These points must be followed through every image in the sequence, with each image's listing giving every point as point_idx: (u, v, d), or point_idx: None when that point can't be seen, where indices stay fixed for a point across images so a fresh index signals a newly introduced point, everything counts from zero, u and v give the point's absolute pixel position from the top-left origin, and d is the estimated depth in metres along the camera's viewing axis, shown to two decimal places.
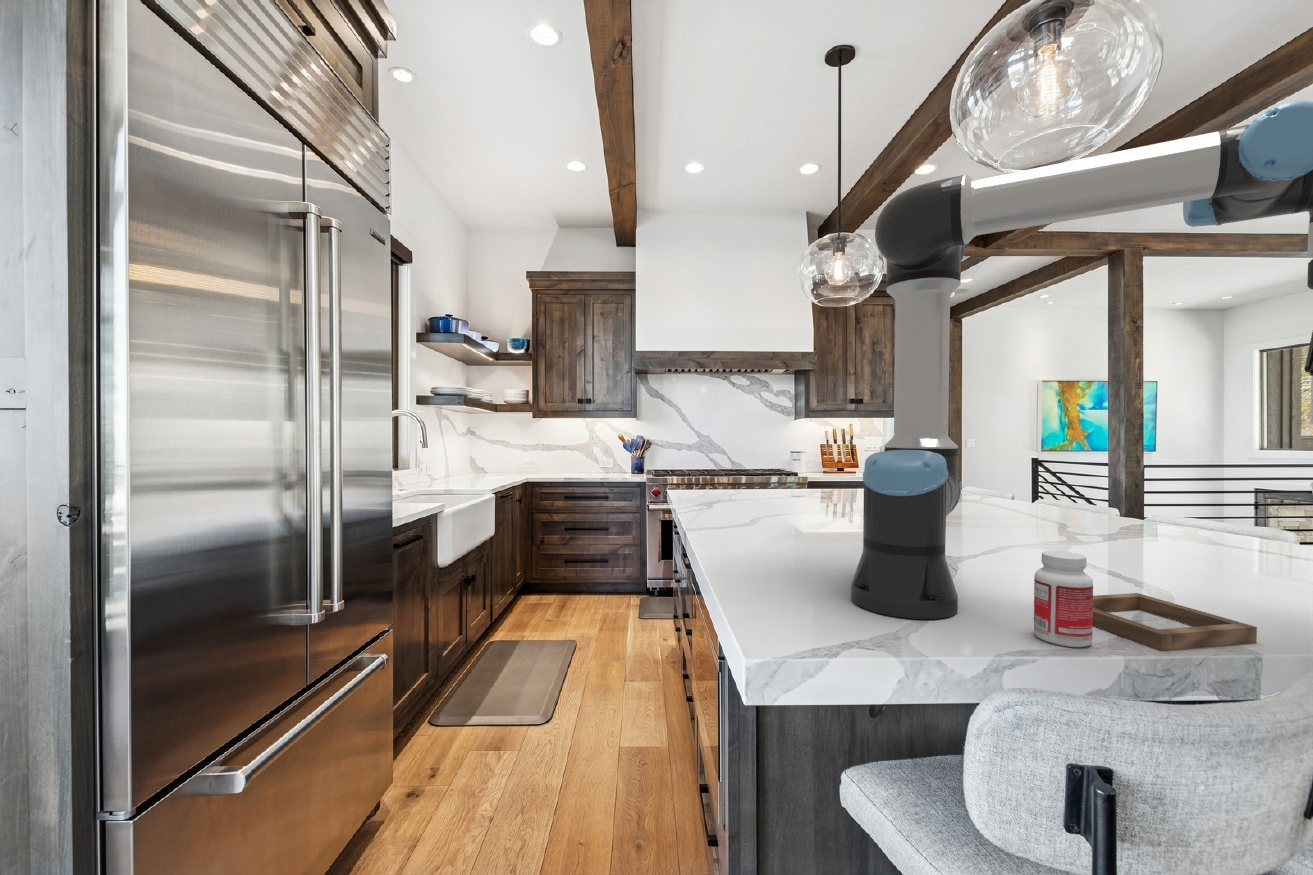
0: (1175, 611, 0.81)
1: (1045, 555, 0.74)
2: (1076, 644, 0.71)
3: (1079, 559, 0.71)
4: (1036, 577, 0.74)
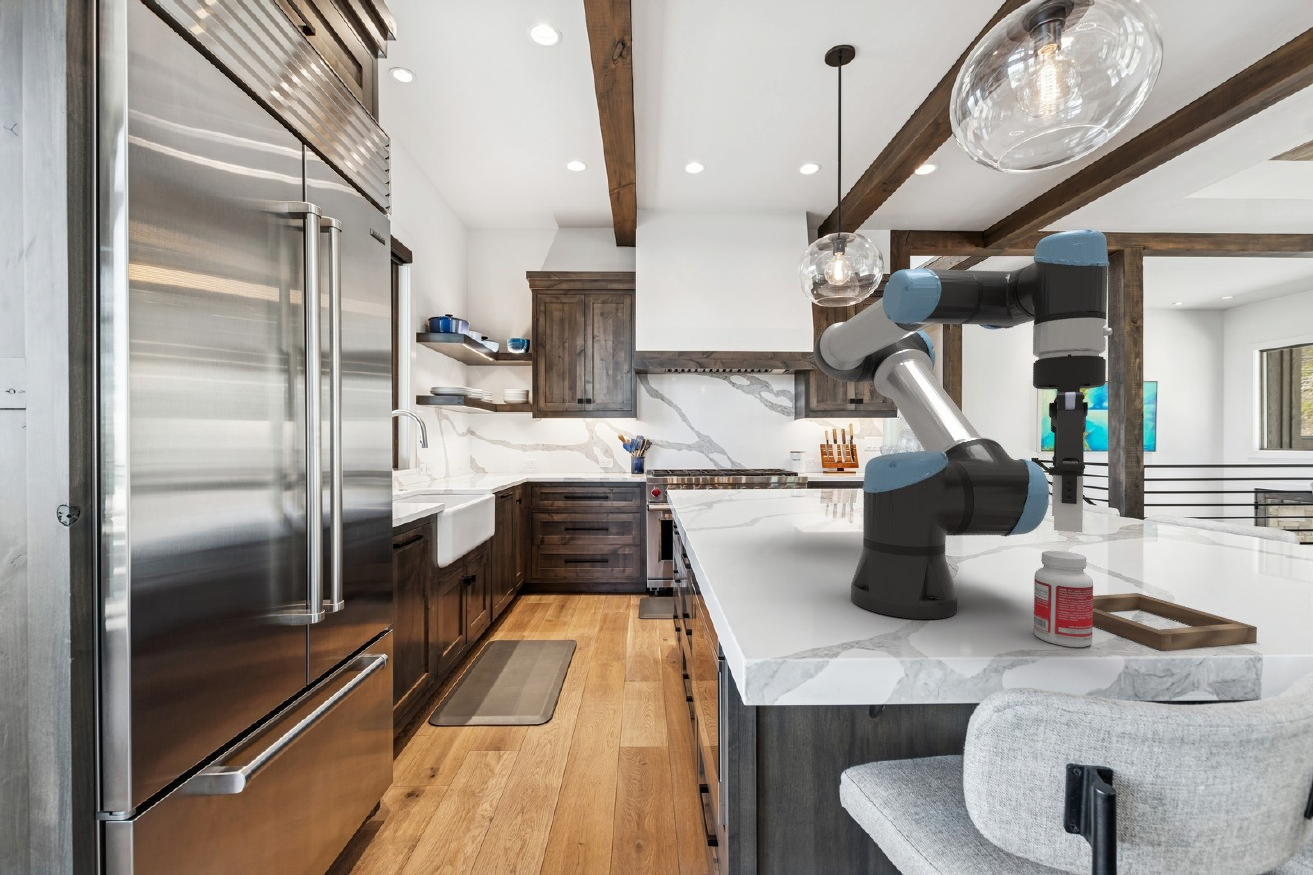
0: (1175, 611, 0.81)
1: (1045, 555, 0.74)
2: (1076, 644, 0.71)
3: (1079, 559, 0.71)
4: (1036, 577, 0.74)
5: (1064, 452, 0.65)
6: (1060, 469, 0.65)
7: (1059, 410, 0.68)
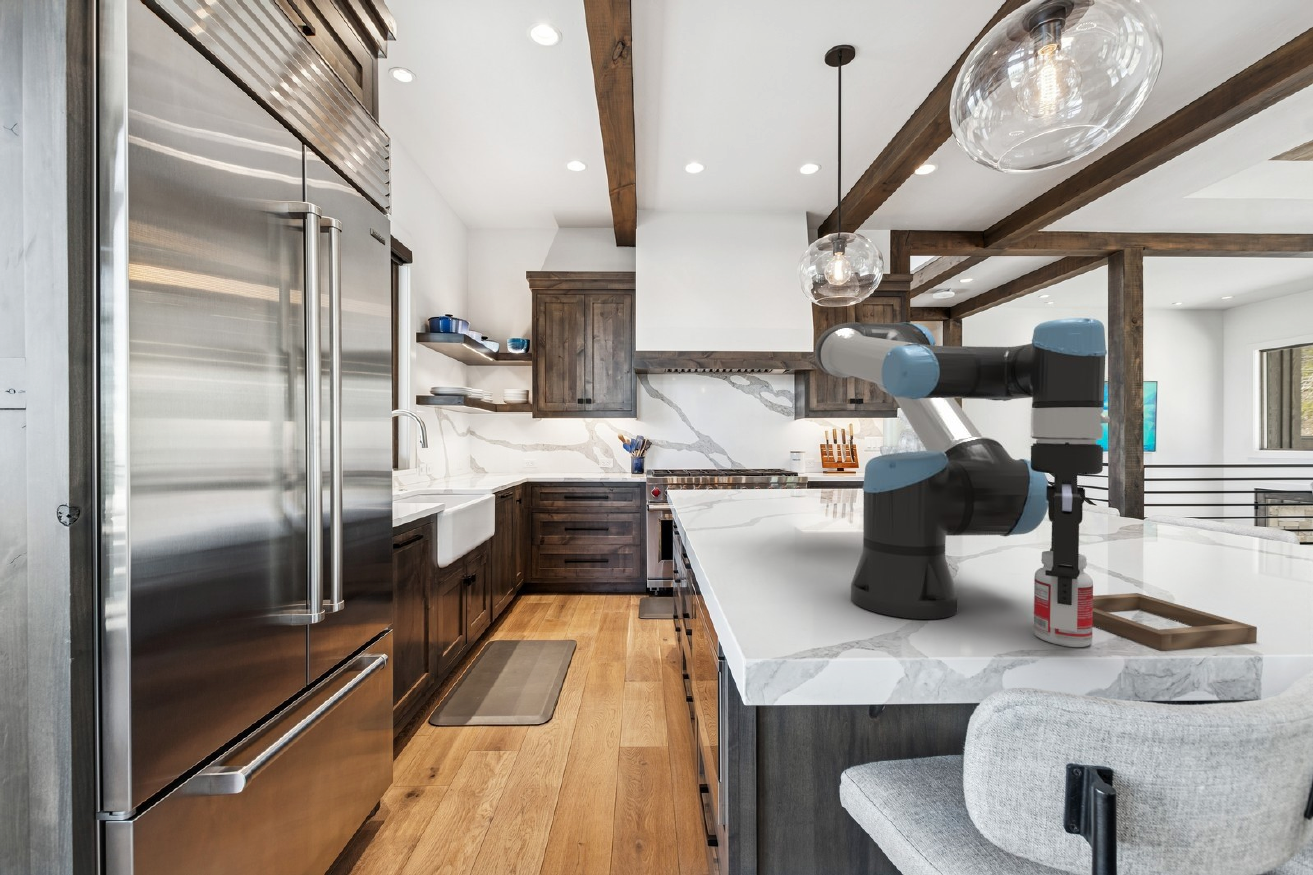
0: (1175, 611, 0.81)
1: (1045, 555, 0.74)
2: (1076, 644, 0.71)
3: (1079, 559, 0.71)
4: (1036, 577, 0.74)
5: (1060, 558, 0.68)
6: (1056, 574, 0.69)
7: (1056, 512, 0.69)
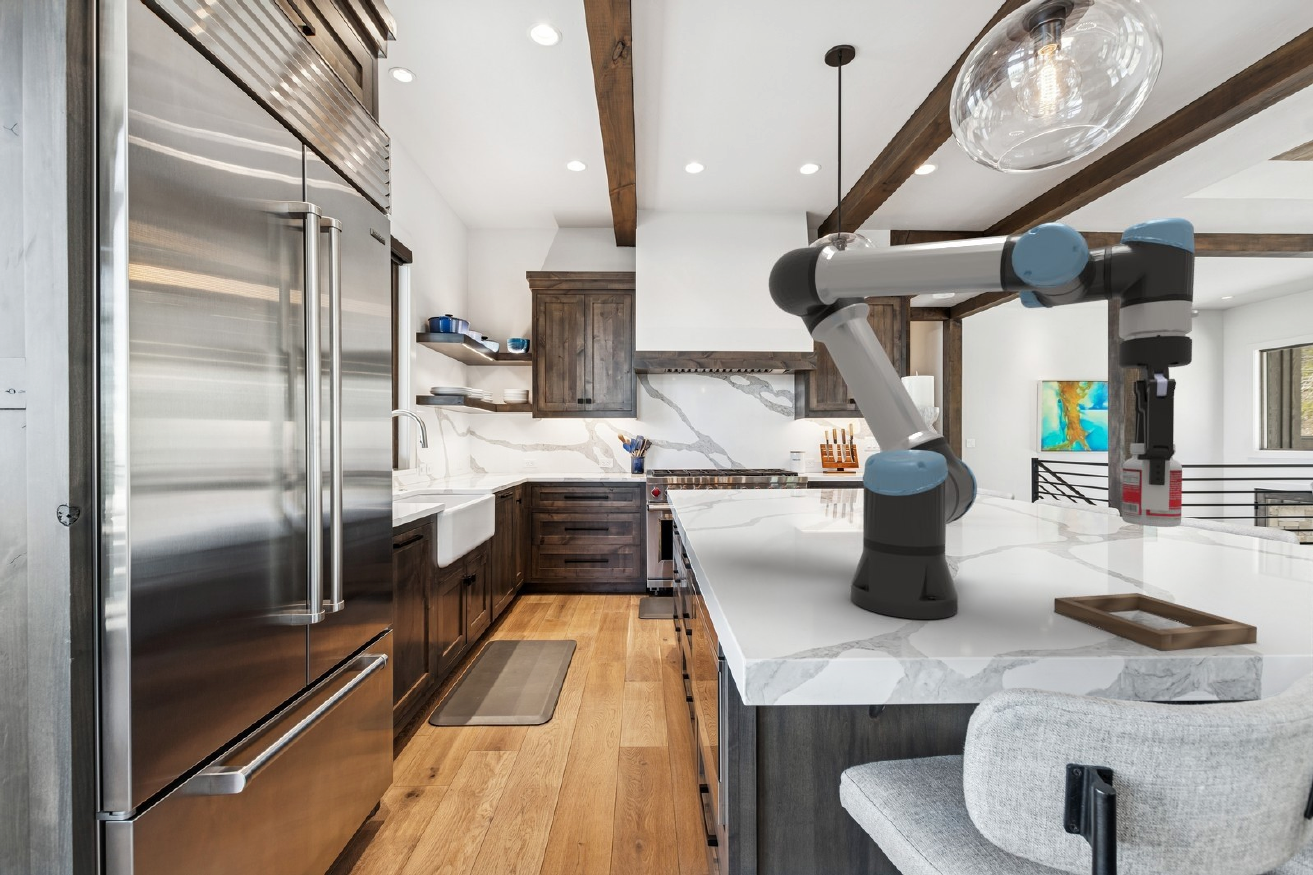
0: (1175, 611, 0.81)
1: (1135, 444, 0.78)
2: (1167, 523, 0.76)
3: None
4: (1126, 466, 0.79)
5: (1155, 440, 0.73)
6: (1150, 455, 0.74)
7: (1150, 397, 0.74)
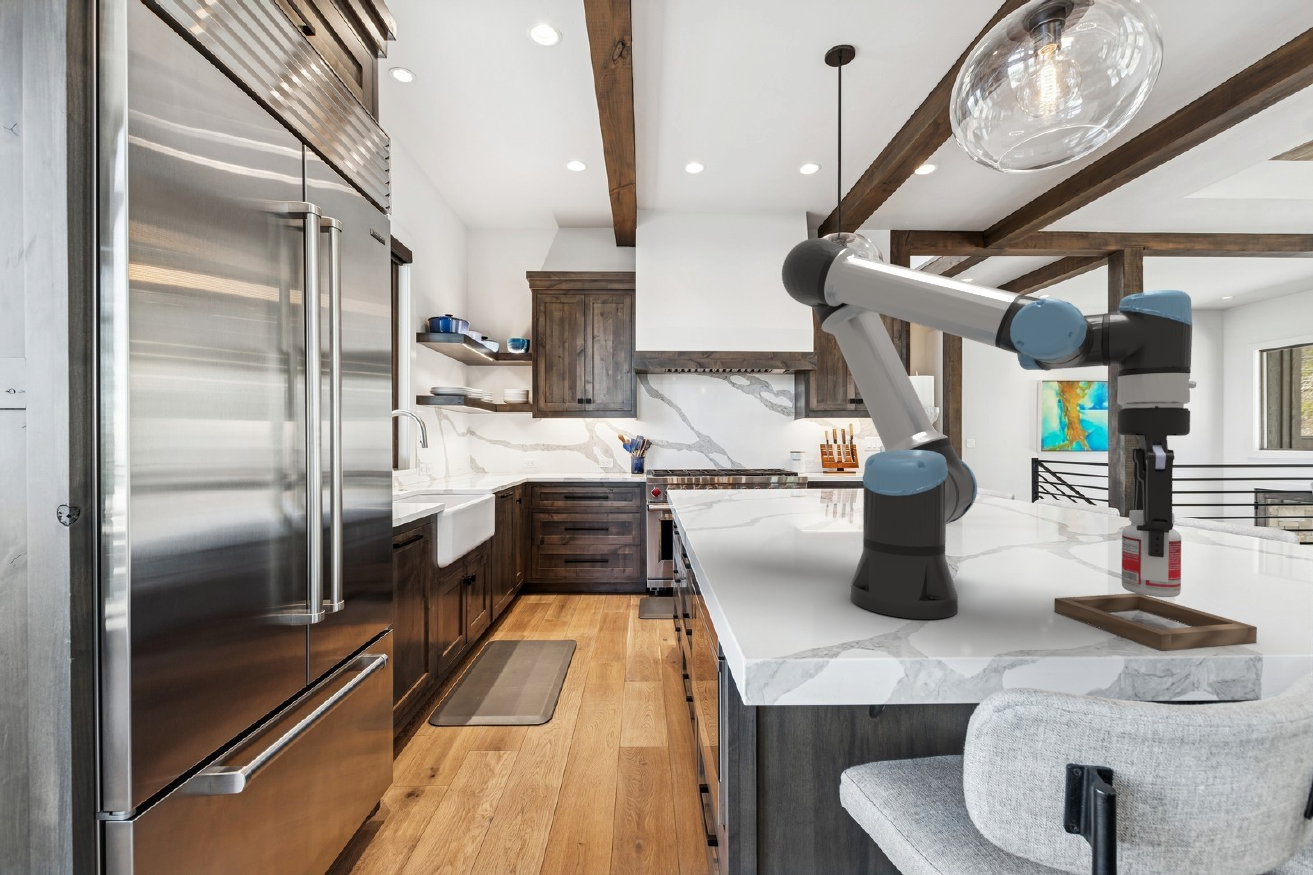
0: (1175, 611, 0.81)
1: (1134, 513, 0.79)
2: (1167, 594, 0.76)
3: None
4: (1125, 534, 0.79)
5: (1154, 513, 0.73)
6: (1149, 528, 0.74)
7: (1149, 470, 0.74)
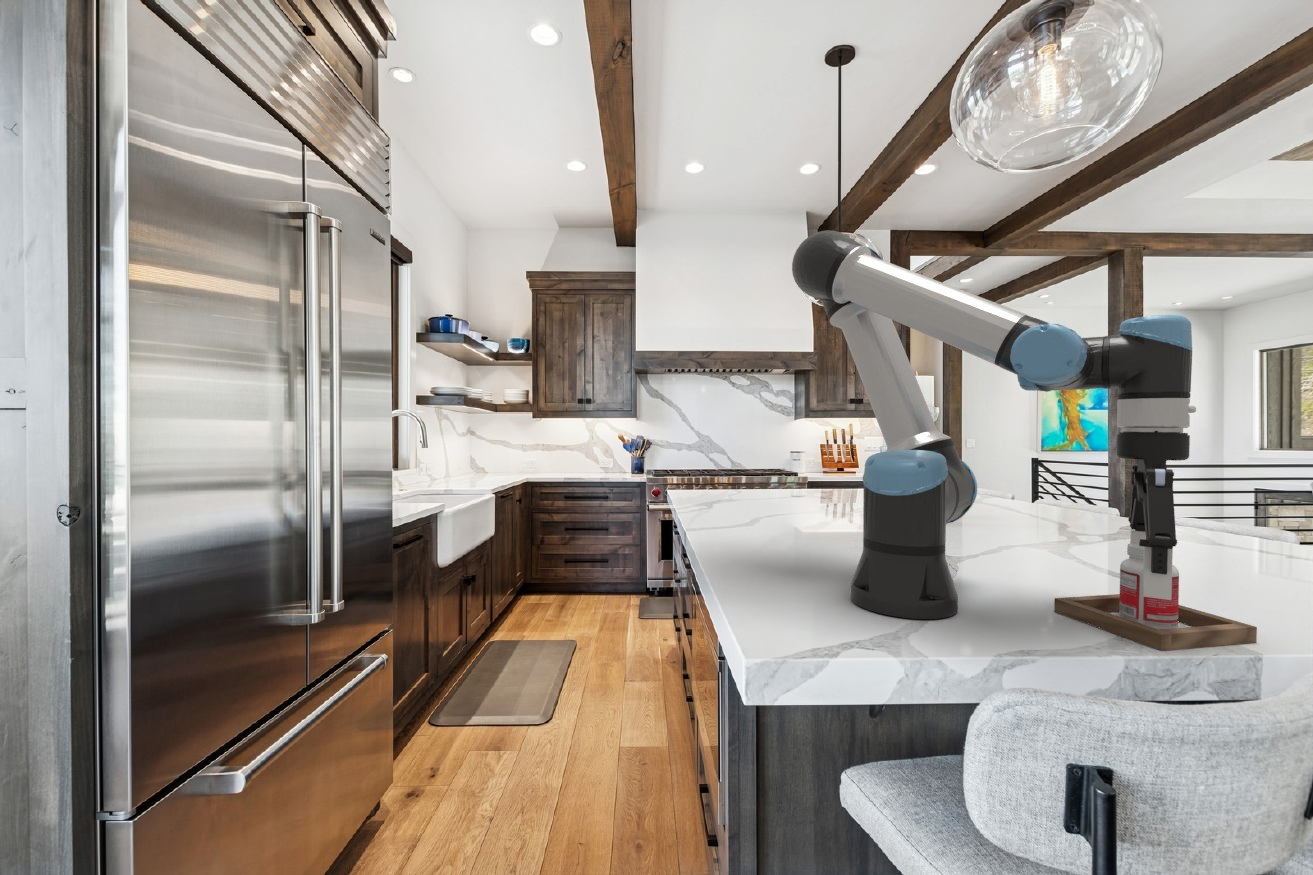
0: None
1: (1132, 547, 0.79)
2: None
3: None
4: (1123, 568, 0.79)
5: (1156, 527, 0.71)
6: (1153, 543, 0.71)
7: (1149, 486, 0.73)
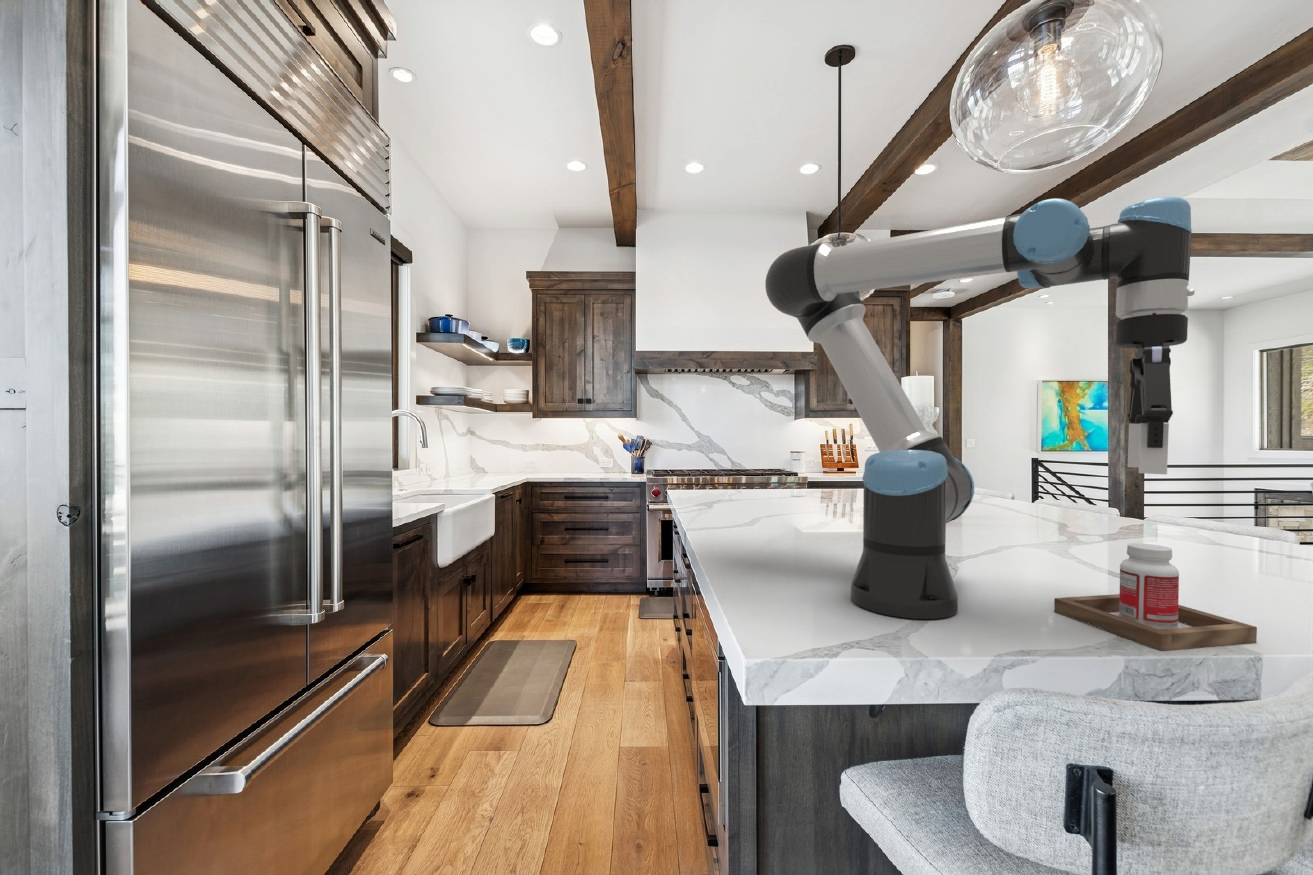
0: None
1: (1132, 547, 0.79)
2: None
3: (1166, 550, 0.76)
4: (1123, 568, 0.79)
5: (1152, 400, 0.72)
6: (1148, 415, 0.71)
7: (1146, 363, 0.74)
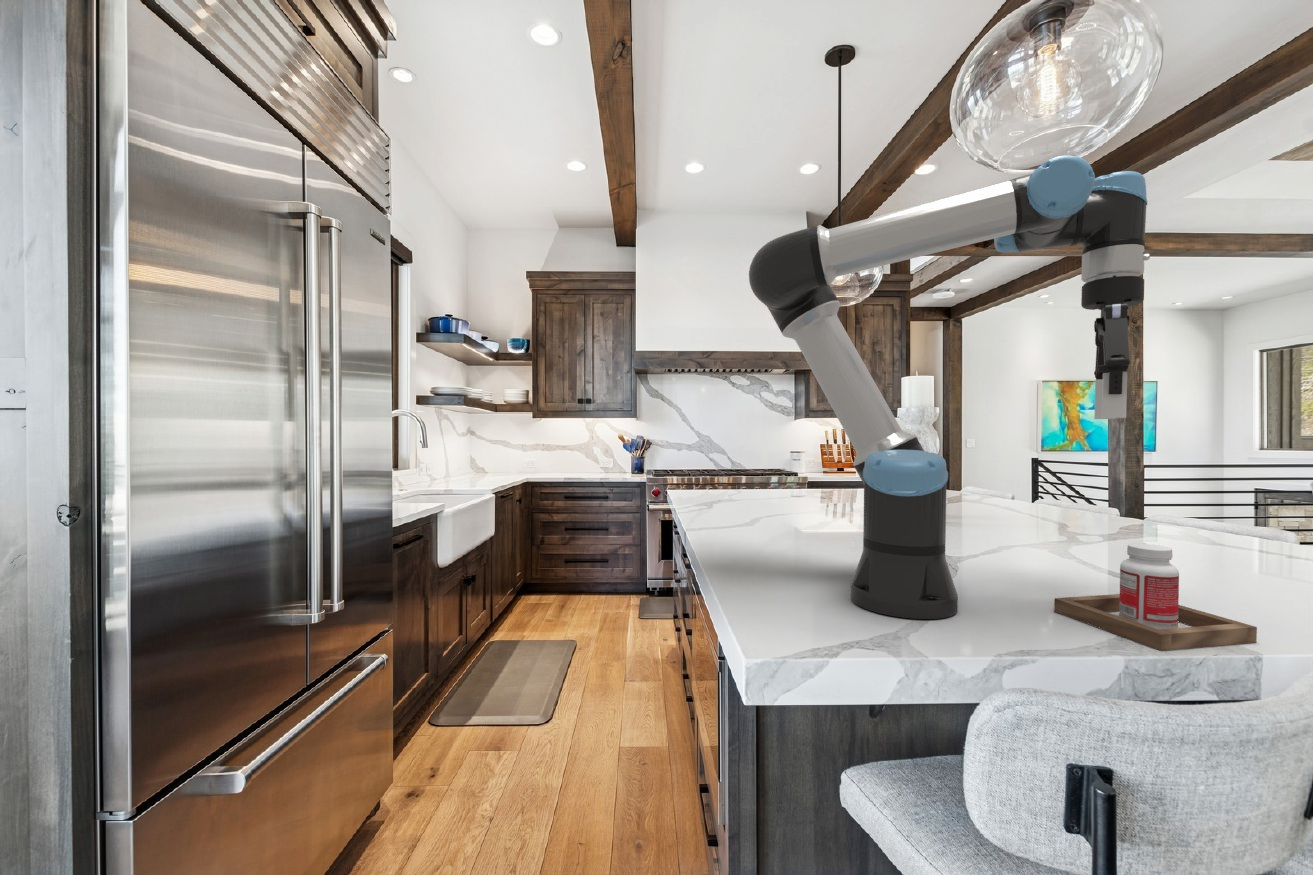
0: None
1: (1132, 547, 0.79)
2: None
3: (1166, 550, 0.76)
4: (1123, 568, 0.79)
5: (1112, 351, 0.80)
6: (1109, 364, 0.80)
7: (1107, 319, 0.82)
